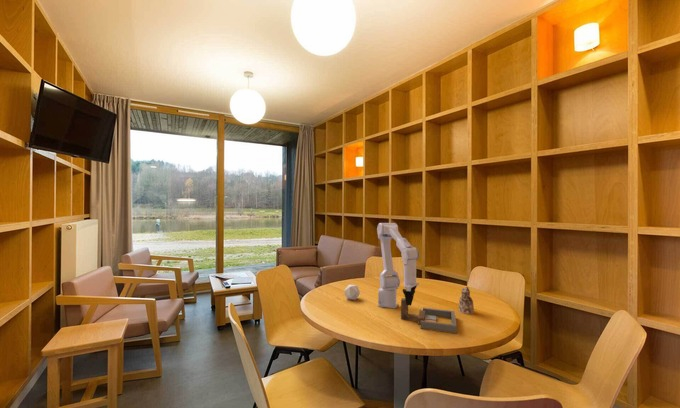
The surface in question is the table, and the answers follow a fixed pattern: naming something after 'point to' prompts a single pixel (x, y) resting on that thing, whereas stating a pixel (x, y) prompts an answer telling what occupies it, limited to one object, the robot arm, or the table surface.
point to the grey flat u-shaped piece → (440, 326)
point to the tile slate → (430, 317)
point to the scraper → (411, 316)
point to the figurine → (466, 302)
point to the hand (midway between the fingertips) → (409, 302)
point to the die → (352, 292)
